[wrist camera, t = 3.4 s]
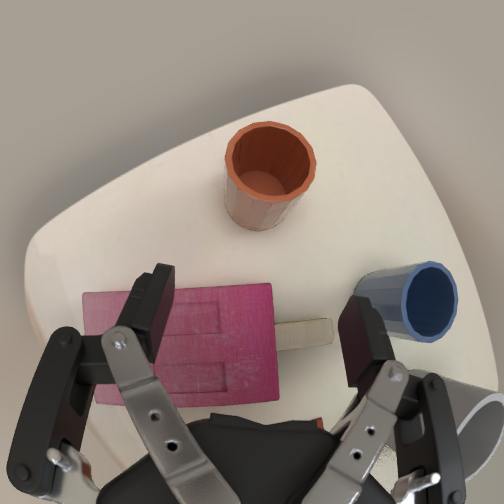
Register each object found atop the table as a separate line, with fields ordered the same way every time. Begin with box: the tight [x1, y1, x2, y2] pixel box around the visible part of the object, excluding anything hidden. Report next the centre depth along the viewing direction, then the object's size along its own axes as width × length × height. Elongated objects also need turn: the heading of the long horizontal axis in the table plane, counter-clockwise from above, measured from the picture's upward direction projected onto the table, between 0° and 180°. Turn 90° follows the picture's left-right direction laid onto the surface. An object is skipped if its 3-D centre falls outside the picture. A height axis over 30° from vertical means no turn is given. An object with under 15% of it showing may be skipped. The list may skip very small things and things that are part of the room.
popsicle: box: [82, 283, 334, 407], centre depth 22 cm, size 9×5×20 cm
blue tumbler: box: [354, 261, 458, 343], centre depth 23 cm, size 6×6×8 cm
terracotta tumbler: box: [224, 121, 316, 231], centre depth 23 cm, size 6×6×8 cm
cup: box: [386, 369, 504, 483], centre depth 20 cm, size 9×9×12 cm
